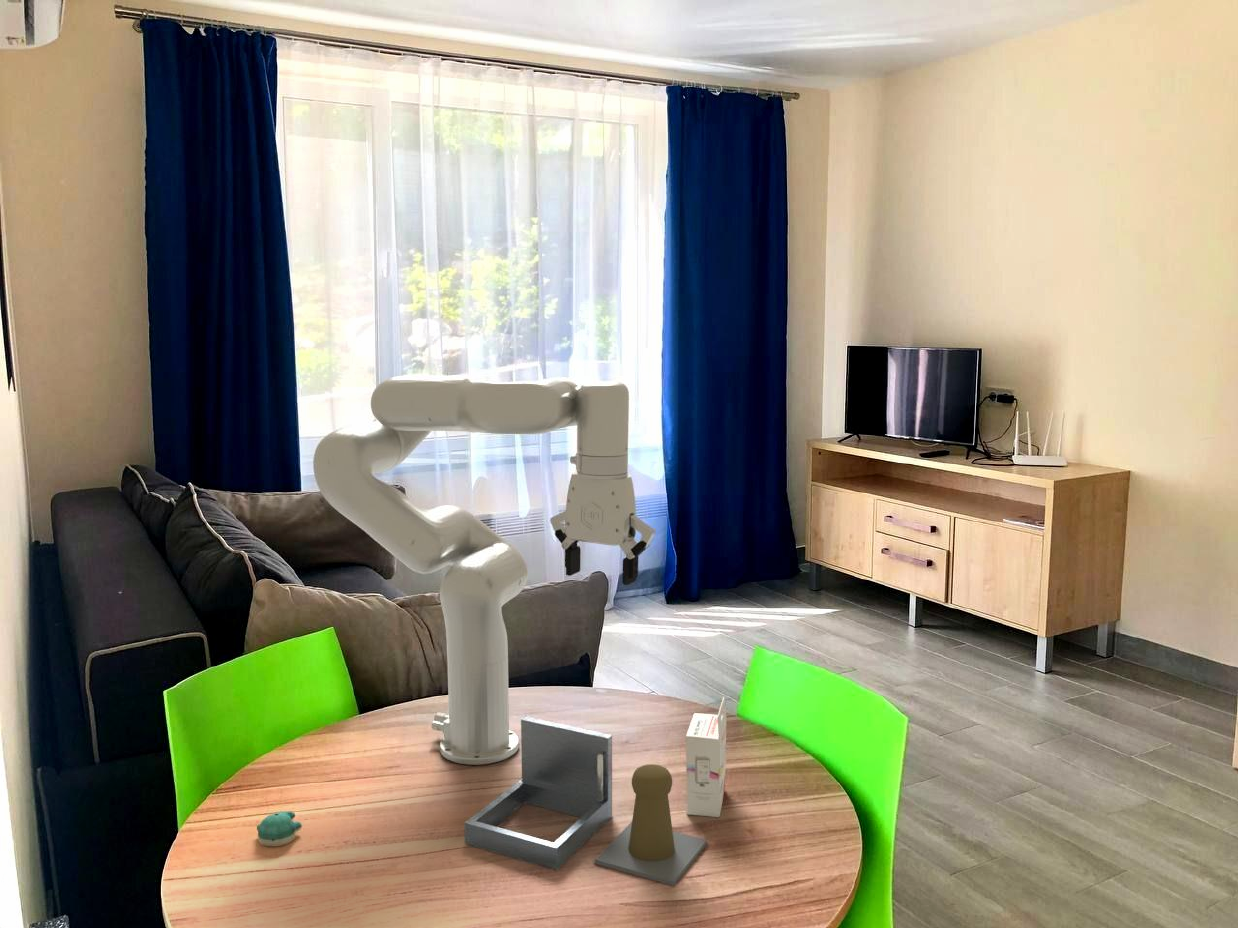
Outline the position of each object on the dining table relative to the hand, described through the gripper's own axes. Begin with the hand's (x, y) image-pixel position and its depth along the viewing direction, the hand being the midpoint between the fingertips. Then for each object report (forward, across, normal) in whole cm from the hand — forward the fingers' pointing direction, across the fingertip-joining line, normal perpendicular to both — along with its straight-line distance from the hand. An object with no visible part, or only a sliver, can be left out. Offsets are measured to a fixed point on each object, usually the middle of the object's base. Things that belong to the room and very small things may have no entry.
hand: (600, 578), depth 151 cm
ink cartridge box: (+30, +19, -3) cm, 36 cm away
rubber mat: (+30, +19, -19) cm, 40 cm away
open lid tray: (+30, +3, -21) cm, 37 cm away
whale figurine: (+31, -28, -38) cm, 56 cm away
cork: (+29, +18, -19) cm, 39 cm away
